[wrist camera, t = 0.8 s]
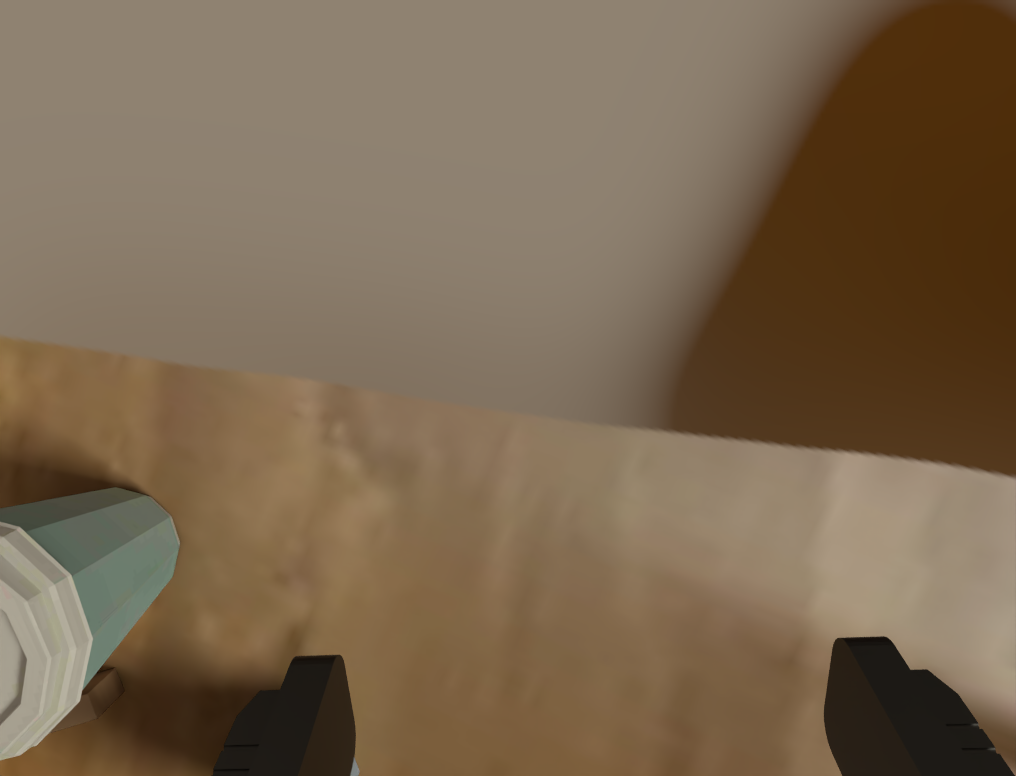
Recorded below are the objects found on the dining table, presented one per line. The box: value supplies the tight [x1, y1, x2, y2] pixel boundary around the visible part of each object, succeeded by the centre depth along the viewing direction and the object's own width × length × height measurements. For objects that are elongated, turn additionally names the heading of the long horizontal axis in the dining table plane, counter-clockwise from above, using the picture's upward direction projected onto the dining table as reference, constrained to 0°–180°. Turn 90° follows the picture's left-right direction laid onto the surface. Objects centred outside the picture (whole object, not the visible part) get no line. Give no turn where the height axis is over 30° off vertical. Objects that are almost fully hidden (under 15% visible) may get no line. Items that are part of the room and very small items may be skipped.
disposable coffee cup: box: [0, 487, 180, 760], centre depth 36 cm, size 11×11×15 cm
